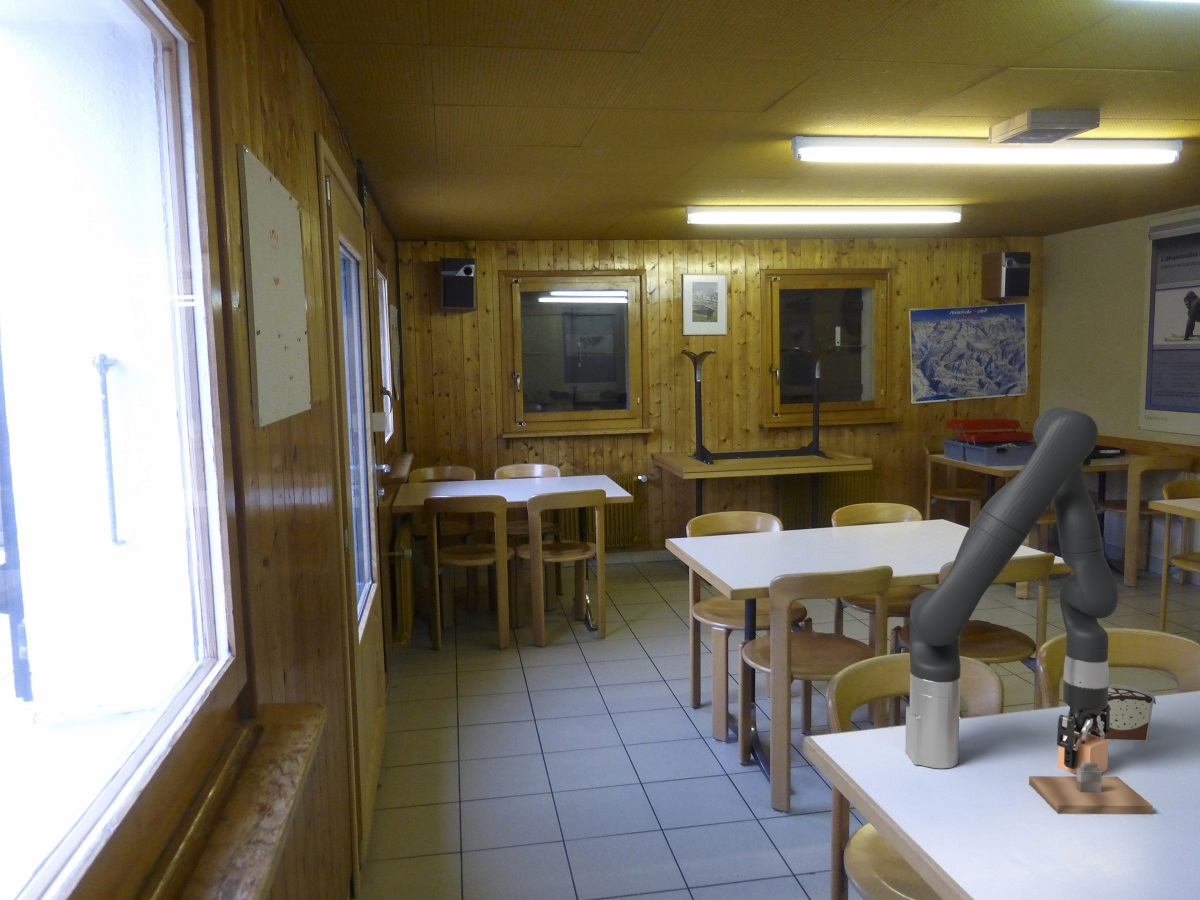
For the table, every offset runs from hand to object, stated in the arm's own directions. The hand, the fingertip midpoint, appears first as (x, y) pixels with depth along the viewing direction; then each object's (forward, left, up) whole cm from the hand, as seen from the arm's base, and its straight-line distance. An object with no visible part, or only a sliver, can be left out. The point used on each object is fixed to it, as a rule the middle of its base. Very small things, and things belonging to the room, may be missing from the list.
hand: (1082, 761), depth 168 cm
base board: (-5, -12, -1) cm, 13 cm away
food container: (+15, +16, -2) cm, 22 cm away
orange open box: (0, 0, -1) cm, 1 cm away
